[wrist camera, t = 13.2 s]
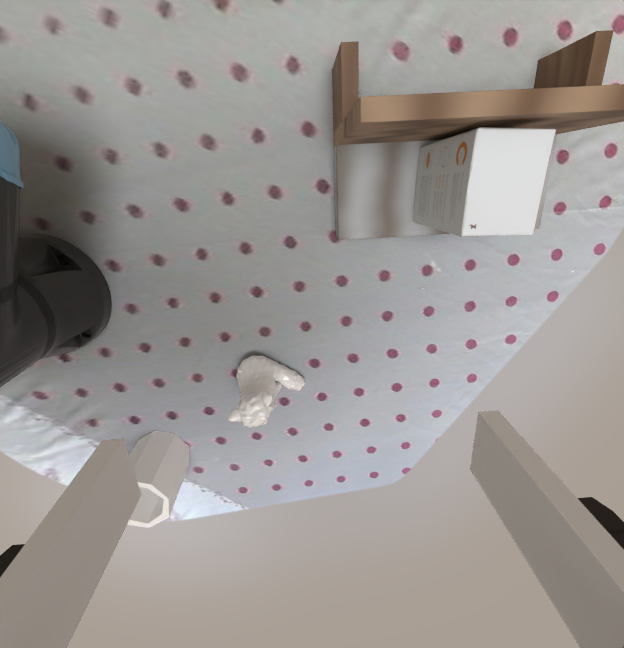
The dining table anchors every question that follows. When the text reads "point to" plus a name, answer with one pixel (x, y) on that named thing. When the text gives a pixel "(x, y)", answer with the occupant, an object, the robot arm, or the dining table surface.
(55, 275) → the robot arm
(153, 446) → the mug
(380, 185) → the wall board
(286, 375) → the sitting furry creature
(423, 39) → the dining table surface
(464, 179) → the small box
